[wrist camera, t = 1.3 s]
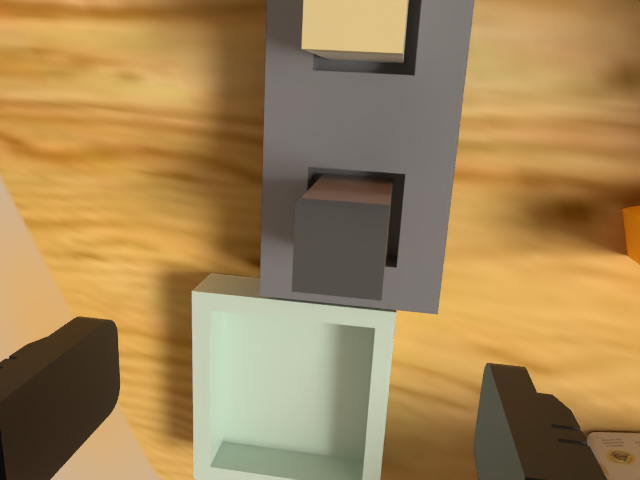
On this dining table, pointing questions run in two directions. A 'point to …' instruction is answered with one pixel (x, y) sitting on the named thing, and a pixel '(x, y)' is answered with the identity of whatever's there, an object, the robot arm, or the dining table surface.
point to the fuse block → (366, 143)
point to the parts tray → (287, 385)
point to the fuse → (356, 29)
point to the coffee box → (617, 454)
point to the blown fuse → (342, 236)
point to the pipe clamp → (632, 231)
